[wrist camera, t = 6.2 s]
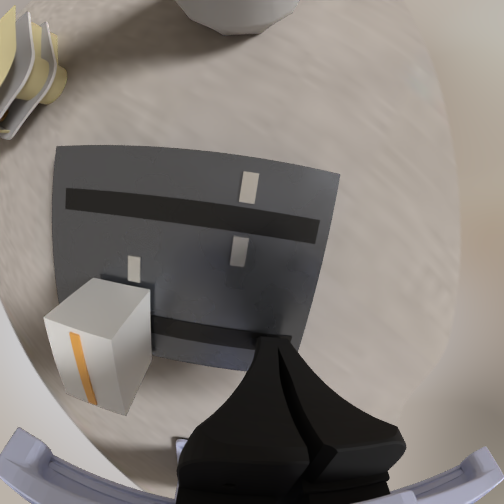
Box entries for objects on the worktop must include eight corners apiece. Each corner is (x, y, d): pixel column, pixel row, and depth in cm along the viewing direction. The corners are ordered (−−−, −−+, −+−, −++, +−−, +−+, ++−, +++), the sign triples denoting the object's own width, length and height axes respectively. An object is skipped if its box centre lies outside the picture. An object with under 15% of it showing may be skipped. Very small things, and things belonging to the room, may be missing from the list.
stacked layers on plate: (2, 71, 9) (-43, 61, 4) (88, 1, 9) (48, -33, 3) (11, 180, 12) (-48, 191, 7) (105, 112, 11) (40, 91, 6)
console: (286, 352, 15) (290, 376, 13) (79, 313, 14) (62, 330, 12) (326, 173, 12) (341, 174, 10) (78, 147, 11) (55, 146, 9)
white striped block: (152, 359, 12) (125, 417, 8) (101, 345, 12) (65, 395, 8) (150, 289, 11) (110, 341, 7) (93, 277, 11) (41, 318, 7)
